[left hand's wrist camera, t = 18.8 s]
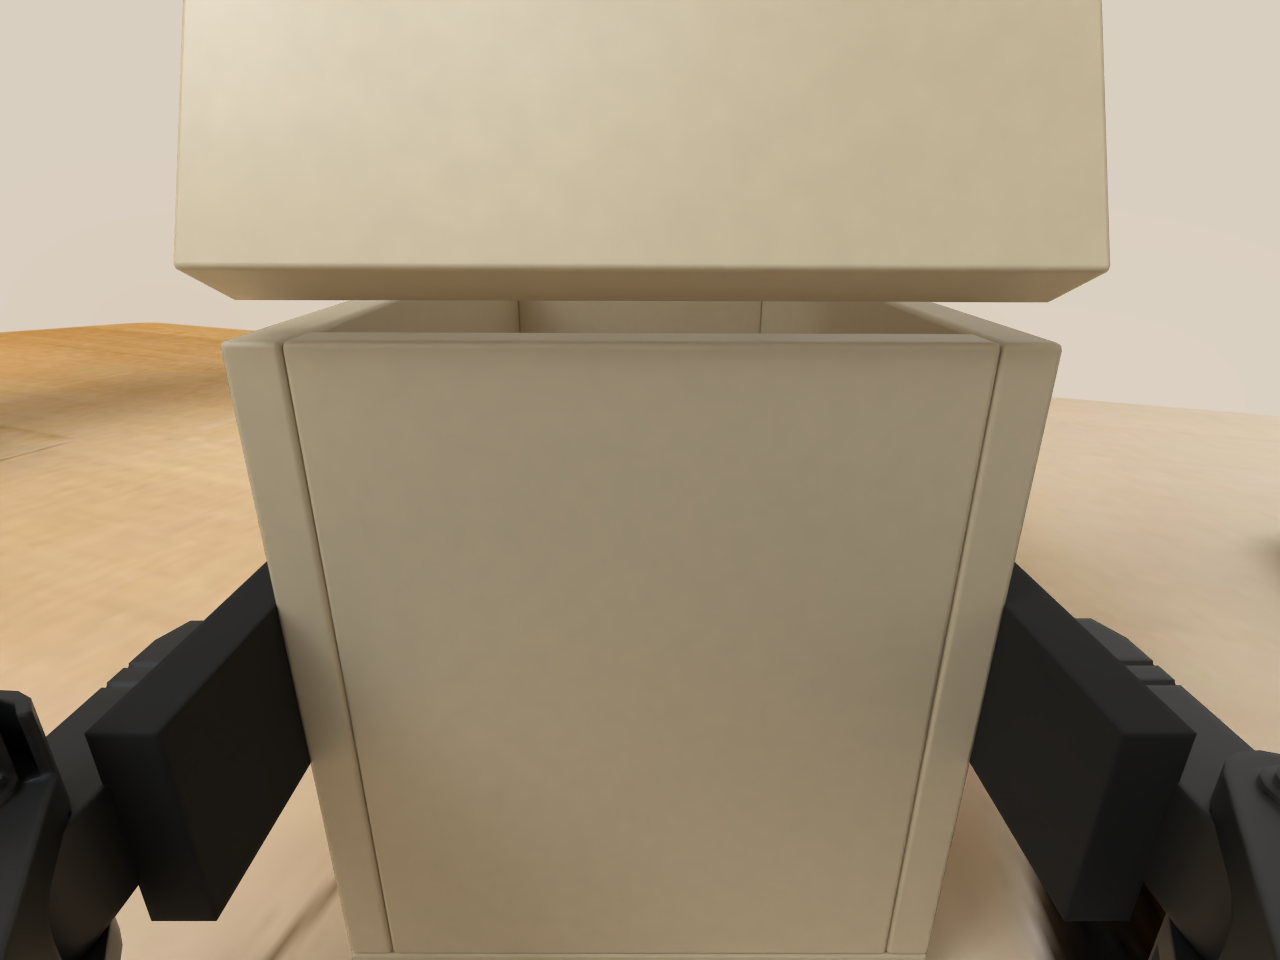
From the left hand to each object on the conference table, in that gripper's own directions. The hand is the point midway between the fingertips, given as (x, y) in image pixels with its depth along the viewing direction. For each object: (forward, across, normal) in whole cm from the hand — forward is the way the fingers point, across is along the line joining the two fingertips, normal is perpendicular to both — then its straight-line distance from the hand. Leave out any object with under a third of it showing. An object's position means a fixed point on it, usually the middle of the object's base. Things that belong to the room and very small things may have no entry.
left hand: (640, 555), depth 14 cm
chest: (+5, 0, -6) cm, 8 cm away
